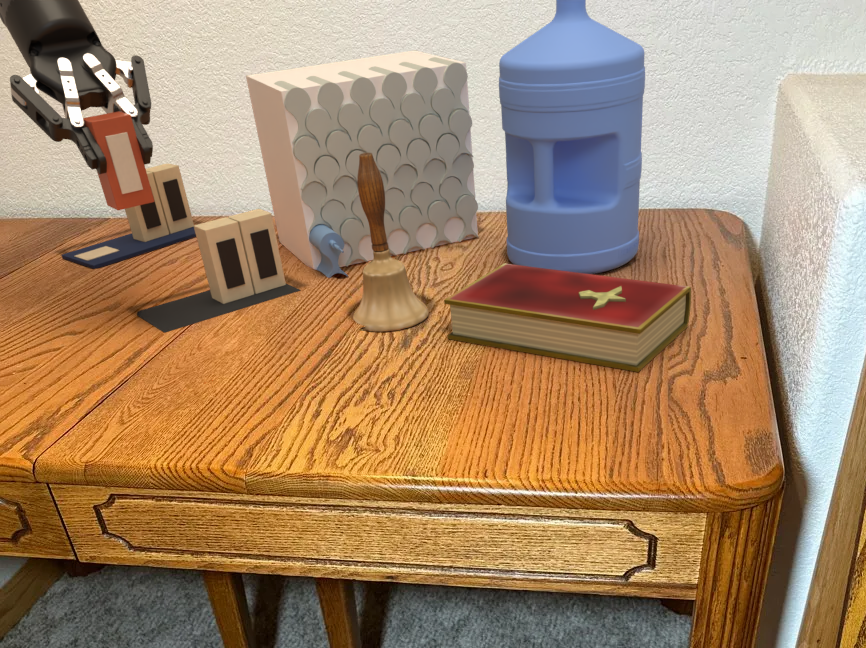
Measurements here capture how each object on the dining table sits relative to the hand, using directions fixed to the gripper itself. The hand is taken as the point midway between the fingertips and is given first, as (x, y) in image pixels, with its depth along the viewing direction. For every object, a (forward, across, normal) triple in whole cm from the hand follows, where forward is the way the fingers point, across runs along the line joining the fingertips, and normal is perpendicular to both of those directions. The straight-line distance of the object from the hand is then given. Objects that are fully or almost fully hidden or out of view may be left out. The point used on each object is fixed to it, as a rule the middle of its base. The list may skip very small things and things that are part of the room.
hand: (125, 162), depth 90 cm
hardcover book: (+36, +28, -13) cm, 47 cm away
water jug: (+24, +44, -1) cm, 50 cm away
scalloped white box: (+9, +32, +15) cm, 36 cm away
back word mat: (-12, +9, +36) cm, 39 cm away
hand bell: (+24, +18, 0) cm, 30 cm away
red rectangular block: (+2, 0, +4) cm, 5 cm away
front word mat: (+10, +6, +13) cm, 18 cm away
